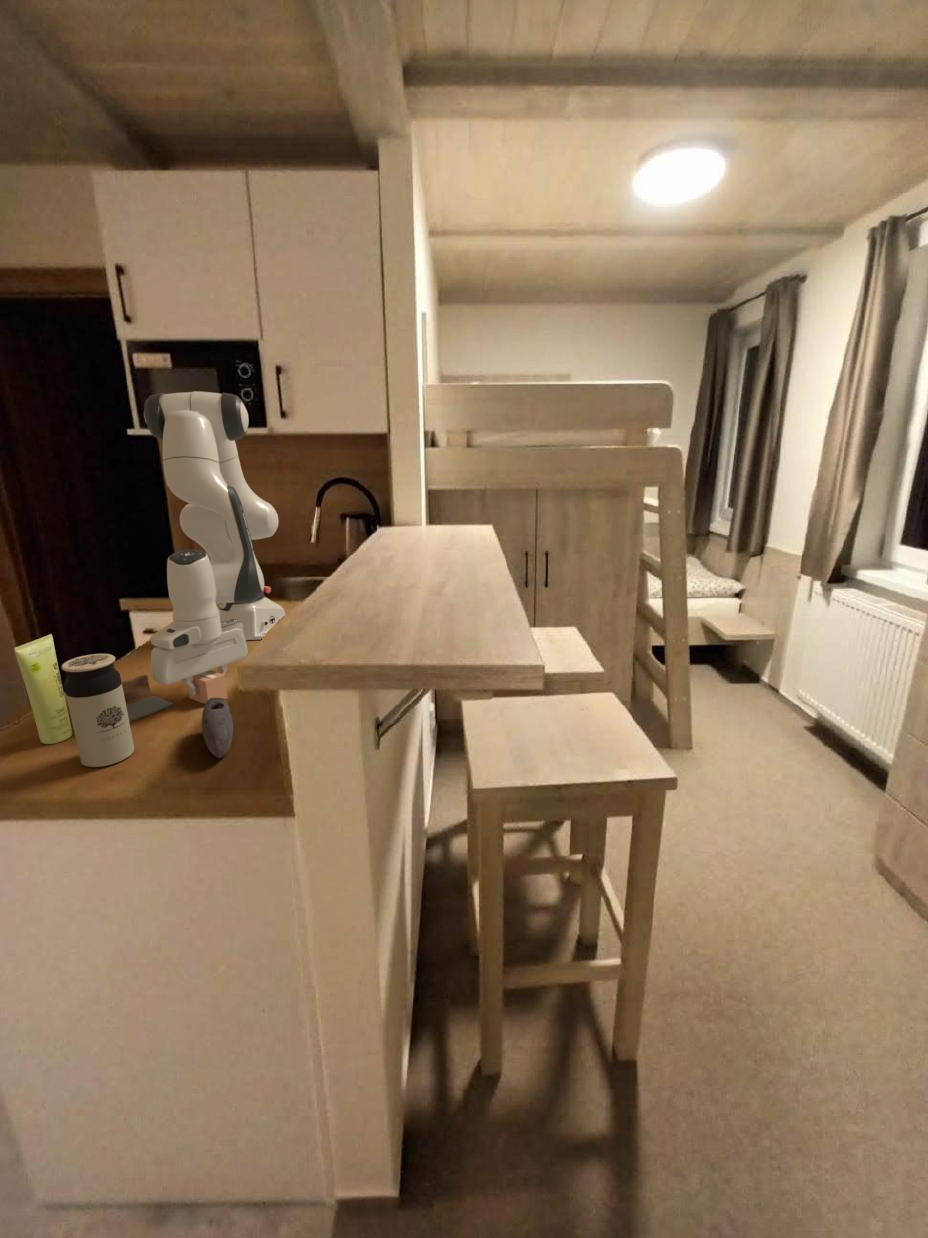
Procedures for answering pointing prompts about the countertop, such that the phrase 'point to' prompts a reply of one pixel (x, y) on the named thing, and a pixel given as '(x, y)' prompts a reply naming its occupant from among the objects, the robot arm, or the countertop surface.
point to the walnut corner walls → (136, 687)
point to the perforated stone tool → (217, 726)
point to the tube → (45, 689)
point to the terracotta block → (209, 686)
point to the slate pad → (146, 707)
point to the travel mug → (98, 710)
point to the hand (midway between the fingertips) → (207, 689)
